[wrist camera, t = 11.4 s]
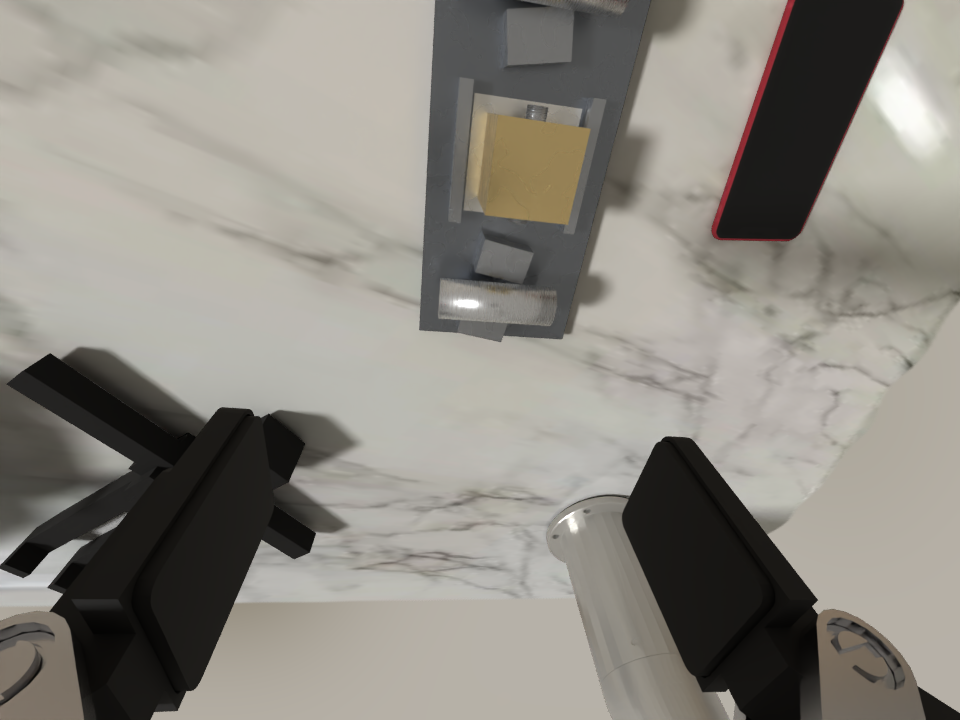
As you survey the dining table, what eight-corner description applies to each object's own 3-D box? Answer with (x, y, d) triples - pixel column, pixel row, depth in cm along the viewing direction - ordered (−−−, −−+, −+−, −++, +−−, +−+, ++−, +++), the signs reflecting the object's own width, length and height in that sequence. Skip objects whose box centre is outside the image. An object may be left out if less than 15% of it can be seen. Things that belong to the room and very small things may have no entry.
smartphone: (912, -11, 24) (797, 241, 32) (897, -7, 25) (789, 238, 33) (799, -21, 23) (711, 240, 31) (788, -17, 24) (704, 237, 32)
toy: (-156, 506, 33) (61, 336, 25) (-79, 454, 37) (125, 296, 29) (159, 632, 47) (363, 549, 39) (186, 582, 51) (374, 499, 43)
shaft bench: (668, -96, 21) (730, -149, 17) (559, 333, 35) (577, 367, 31) (442, -148, 20) (444, -223, 15) (419, 324, 33) (417, 359, 29)
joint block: (567, 111, 25) (594, 113, 21) (545, 217, 29) (565, 236, 24) (489, 99, 24) (500, 98, 20) (476, 208, 28) (483, 227, 24)
